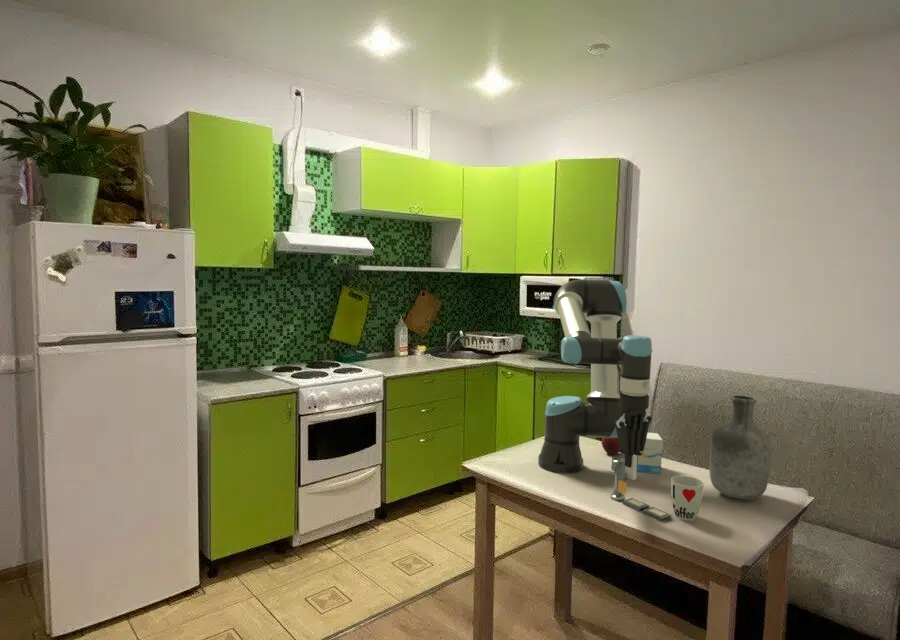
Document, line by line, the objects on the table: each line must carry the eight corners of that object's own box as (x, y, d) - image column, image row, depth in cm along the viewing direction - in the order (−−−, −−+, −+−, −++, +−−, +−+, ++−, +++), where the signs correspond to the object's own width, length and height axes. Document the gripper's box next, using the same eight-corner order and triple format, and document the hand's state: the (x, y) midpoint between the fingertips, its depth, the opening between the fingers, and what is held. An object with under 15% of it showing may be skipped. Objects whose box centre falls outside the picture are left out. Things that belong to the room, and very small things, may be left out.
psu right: (643, 513, 150) (643, 509, 150) (652, 510, 152) (652, 506, 152) (661, 521, 145) (662, 517, 145) (671, 518, 147) (671, 514, 147)
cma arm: (611, 466, 162) (611, 457, 162) (626, 468, 161) (627, 458, 161) (613, 491, 142) (613, 481, 142) (630, 494, 141) (631, 483, 141)
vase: (769, 494, 167) (777, 397, 165) (764, 511, 154) (773, 406, 151) (712, 481, 176) (718, 389, 174) (703, 497, 163) (709, 397, 160)
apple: (609, 449, 206) (610, 428, 206) (627, 455, 200) (628, 433, 200) (597, 453, 202) (598, 431, 201) (616, 458, 196) (617, 437, 195)
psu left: (622, 503, 156) (622, 500, 156) (632, 501, 158) (632, 497, 158) (640, 511, 151) (640, 508, 151) (649, 509, 153) (649, 505, 153)
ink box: (661, 474, 182) (663, 439, 181) (634, 471, 183) (636, 437, 182) (656, 465, 190) (658, 432, 189) (630, 463, 192) (632, 430, 191)
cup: (663, 516, 149) (666, 480, 148) (676, 507, 155) (678, 473, 154) (694, 526, 143) (696, 489, 142) (706, 517, 149) (708, 481, 148)
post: (607, 497, 161) (609, 469, 160) (616, 494, 163) (618, 467, 162) (618, 502, 157) (620, 473, 157) (627, 499, 160) (629, 471, 159)
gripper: (629, 398, 141) (625, 487, 143) (661, 393, 148) (657, 477, 150) (607, 392, 148) (603, 477, 150) (638, 388, 155) (634, 469, 157)
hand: (630, 477), depth 150 cm, fingers closed
